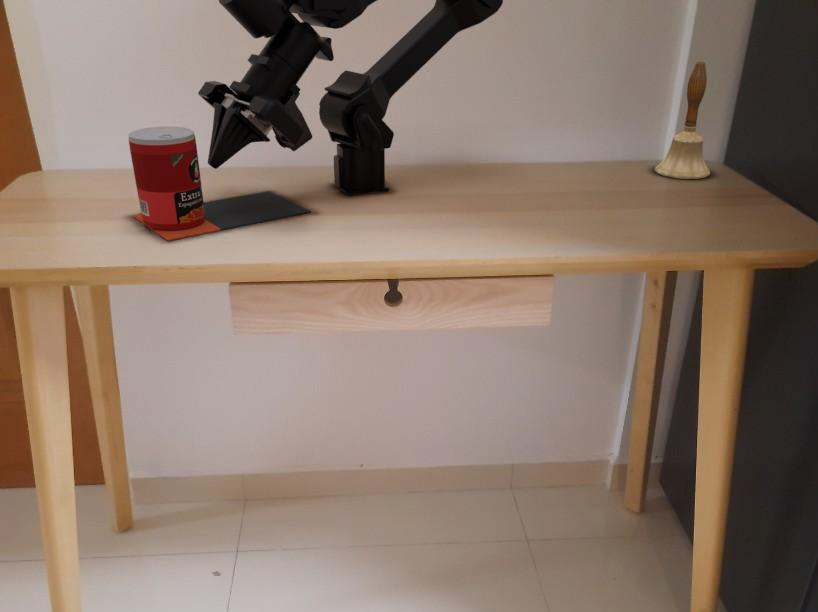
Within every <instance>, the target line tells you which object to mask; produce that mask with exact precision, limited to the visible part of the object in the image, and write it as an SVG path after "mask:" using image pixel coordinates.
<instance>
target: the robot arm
mask: <svg viewBox="0 0 818 612" xmlns="http://www.w3.org/2000/svg"><path fill="white" fill-rule="evenodd" d="M375 2H378V0H218V3H219V4H220V5H221V7H223V8H224V9H225V10H226V11H227V12H228V13H229V14H230V15H231V16H232V17H233V19H234V20H235V21H237V22H238V24H239V25H240V26H241V27H242V28H243V29H244V30H245V31H246V32H247V33H248V34H249V35H250V36H251V37H252V38H253V39H260V38H262V37H264V38H265V39H268V40H267V42H266V43H265V45H264V46H263V48H262V49H261V51H260V52H259V54H254V53H252V54H250V56H249V58H248V59H247V62H248V63H250V65H251V66H250V67H249V69H248V70H247V71H246V73H245V74H244V76H243V77H242V79H241V80H240V81H237V80H233V81H232V82H231V83H230V84H229V86H228V85H227V84H226V83H223V82H220V81H216V80H209V81H205V82H204V83H203V85H202V87H201V88H200V89H199V91H198V92H197V94H198V96H199V97H201V99H202V100H204V101H205V102H206V103H207V104H208V105H210V107H211V108H213V121H212V131H211V139H210V144H209V151H208V158H207V164H208V166H210V167H211V168H212V169H215V170H217V169H218V168H220V167H221V166H222V165H224V164H225V163H226V162H227V161H229V160H230V159H231V158H233V156H235V155H236V154H237V153H239V152H240V151H241V150H243V149H244V148H246V147H247V146H248V145H250V144H252V143H262V142H265V143H268V142H271V139H270V138H269V137H268V135H269V133H270V132H271V130H272V131H273V133H274V138H275V140H276V142H277V143H278V145H279V146H280V147H281V148H284V149H286V148H287V149H290V150H291V151H292V152H296V151H297V150H298V149H300V148H301V147H303V146H304V145H305V144H306V143H308V142H309V141H311V140H312V139H313V133H312V131H311V129H310V128H309V125H308V123H307V121H306V119H305V116H304V115H303V113H302V111H301V110H300V109H299V107H298V105H297V103H296V101H297V99H299V97H300V94H301V93H300V91H301V88H300V87H299V86H298V85H297V84H298V83H299V82H300V80H301V78H302V77H303V76H304V74H305V73H306V71H307V69H308V68H309V67H310V66H311V64H312V62H313V61H314V59H315V58H316V59H318V60H323V61H328V62H333V61H334V59H335V56H334V51H333V47H332V38H331V37H328V36H321V35H320V34H319V33H318V32H317V31H316V30H315V28H314V27H319V28H325V29H334V30H337V29H342V28H344V27H346V26H347V25H349V24H350V23H352V22H353V21H354V20H356V19H357V18H359V17H360V16H362V15H363V14H364V12H365V11H367V8H368V7H370V6H371V5H372V4H374V3H375ZM503 3H504V0H435V2H434V5H433V7H432V8H431V9H430V10H429V11H428V13H426V14H425V15H424V16H423V17H422V18H421V19H420V20H419V21H418V22H417V23H416V24H415V25H413V26H412V28H411V29H410V30H409V31H407V32H406V34H405V35H404V36H402V37H401V38H400V39H399V40H398V41H397V42H396V43H394V45H393V46H392V47H391V48H390V49H388V50H387V51H386V53H384V54H383V55H382V56H381V57H380V58H379V59H378V60H377V61H376V62H374V64H373V65H372V66H371V67H369V69H368V70H367V71H365V72H364V73H360V72H355V71H351V70H344V71H343V72H342V73H340V75H338V78H337V79H336V80H335V81H334V82H333V83H331V84H330V85H328V86H325V87H324V91H326V92H325V93H324V95H323V96H322V98H321V99H320V101H319V104H318V105H319V110H318V115H319V120H320V123H321V125H322V126H323V127H324V128H325V129H326V130H327V133H328V135H329V138H330V140H331V142H333V143H336V154H335V155H334V156H333V174H334V175H333V178H334V179H333V180H334V186H336V187H337V188H338V189H339V190H340V191H342V192H343V193H344V194H345V195H348V196H351V195H362V194H370V193H381V192H388V191H390V187H389V186H388V185H387V184H386V173H385V172H386V163H385V162H386V161H385V160H386V159H385V158H386V156H385V155H386V154H385V153H386V152H385V151H386V150H387V149H390V148H391V146H392V143H393V139H394V136H395V133H394V131H393V130H392V129H391V128H390V126H389V125H388V124H387V123H386V122H385V121H384V120H383V119H384V118H385V116H386V114H387V111H388V108H389V104H390V101H391V99H392V98H393V96H394V95H395V94H396V93H397V92H398V91H400V89H402V87H403V86H405V85H406V83H408V81H409V80H411V79H412V78H413V77H414V76H415V75H416V74H417V73H418V72H419V71H420V70H421V69H422V68H423V67H424V66H425V65H426V64H428V62H430V60H431V59H432V58H433V57H435V56H436V54H438V53H439V52H440V51H441V50H442V49H443V48H444V47H445V46H446V45H447V44H448V43H449V42H450V41H451V40H452V39H453V38H454V37H455V36H456V35H457V34H459V33H460V32H462V31H464V30H467V29H470V28H472V27H474V26H477V25H479V24H481V23H483V22H484V21H486V20H488V18H490V17H492V16H494V15H495V14H496V13H497V12H498V11H499V10H500V8H501V7H502V5H503ZM295 14H297V16H298V17H299V18H300V20H301V21H300V20H299V19H298V18H297V16H295ZM313 26H314V27H313Z"/></svg>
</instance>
